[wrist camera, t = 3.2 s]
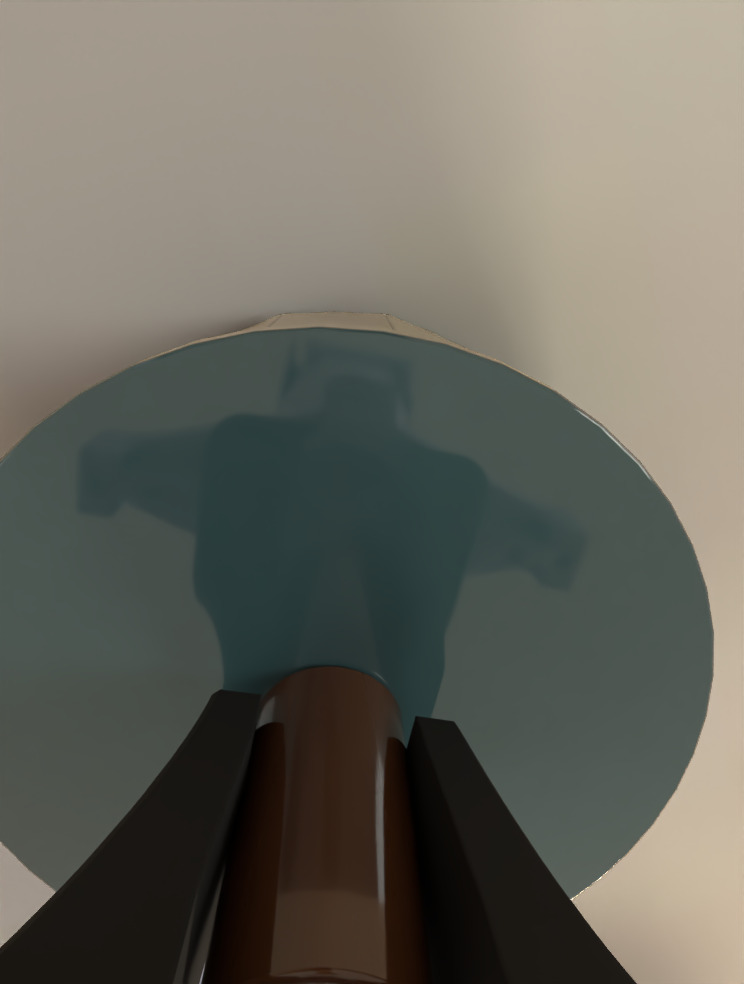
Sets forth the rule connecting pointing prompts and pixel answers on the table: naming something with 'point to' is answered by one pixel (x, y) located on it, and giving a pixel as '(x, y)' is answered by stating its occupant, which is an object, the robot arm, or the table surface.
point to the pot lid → (340, 625)
